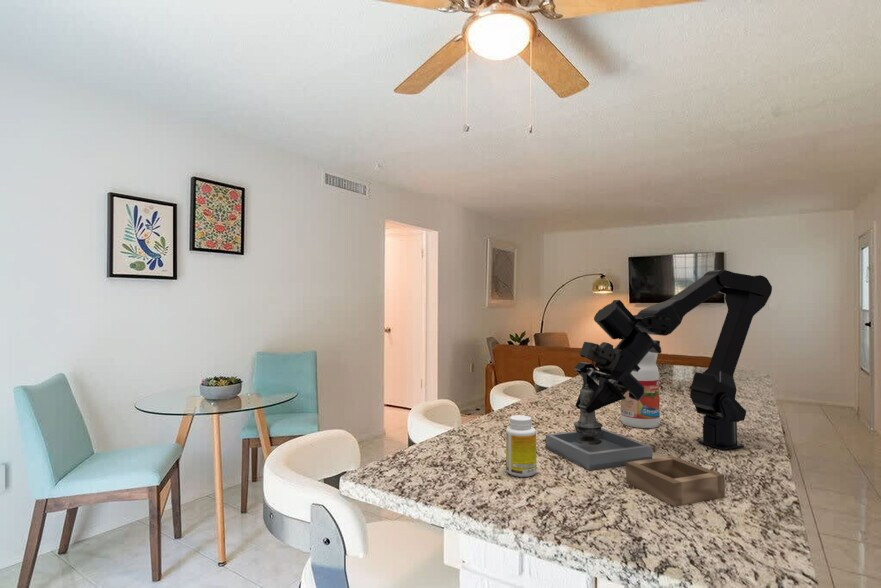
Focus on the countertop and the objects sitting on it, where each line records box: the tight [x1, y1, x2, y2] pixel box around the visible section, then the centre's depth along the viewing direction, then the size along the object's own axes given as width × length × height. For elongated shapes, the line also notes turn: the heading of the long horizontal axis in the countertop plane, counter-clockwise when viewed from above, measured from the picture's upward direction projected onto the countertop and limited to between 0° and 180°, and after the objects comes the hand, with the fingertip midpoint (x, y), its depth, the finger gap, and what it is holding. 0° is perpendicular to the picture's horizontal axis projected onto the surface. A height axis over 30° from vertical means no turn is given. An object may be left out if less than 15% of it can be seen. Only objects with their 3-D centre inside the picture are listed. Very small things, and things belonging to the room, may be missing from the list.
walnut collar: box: [625, 455, 726, 507], centre depth 79 cm, size 10×10×4 cm
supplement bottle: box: [505, 414, 537, 478], centre depth 87 cm, size 6×6×10 cm
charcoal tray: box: [545, 427, 653, 471], centre depth 98 cm, size 15×15×3 cm
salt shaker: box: [572, 384, 604, 445], centre depth 98 cm, size 6×6×12 cm
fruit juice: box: [620, 334, 661, 429], centre depth 123 cm, size 9×9×28 cm
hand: (581, 409), depth 98 cm, fingers closed on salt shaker, 4 cm apart
